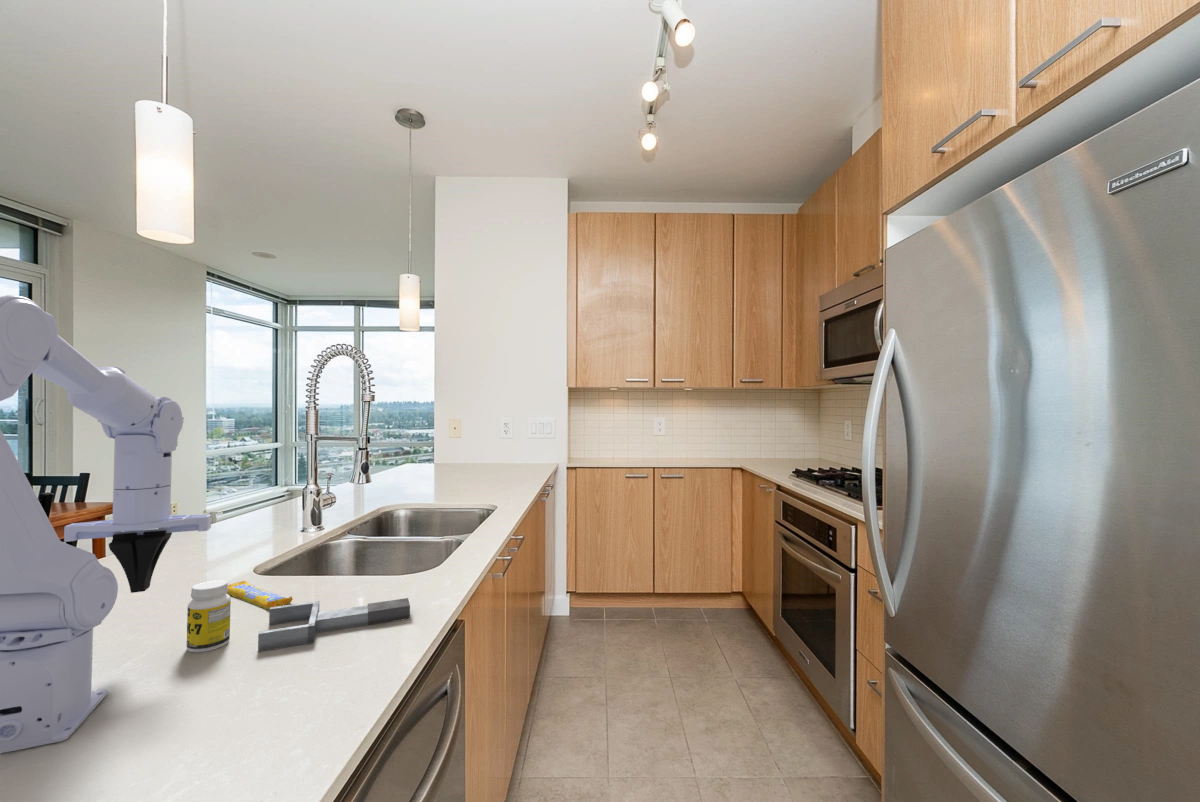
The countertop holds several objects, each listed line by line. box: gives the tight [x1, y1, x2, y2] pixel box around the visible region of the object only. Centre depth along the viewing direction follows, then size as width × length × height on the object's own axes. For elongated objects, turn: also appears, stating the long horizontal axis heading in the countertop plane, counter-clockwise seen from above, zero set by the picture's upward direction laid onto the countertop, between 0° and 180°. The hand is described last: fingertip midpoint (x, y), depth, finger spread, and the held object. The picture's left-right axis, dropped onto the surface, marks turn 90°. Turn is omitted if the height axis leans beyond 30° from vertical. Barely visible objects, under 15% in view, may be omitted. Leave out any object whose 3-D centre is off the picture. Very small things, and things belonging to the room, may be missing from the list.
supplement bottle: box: [186, 579, 232, 654], centre depth 70 cm, size 5×5×8 cm
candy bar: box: [226, 580, 294, 611], centre depth 88 cm, size 17×4×2 cm, turn 59°
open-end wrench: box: [257, 597, 411, 653], centre depth 77 cm, size 10×20×2 cm, turn 115°
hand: (140, 589), depth 67 cm, fingers closed
